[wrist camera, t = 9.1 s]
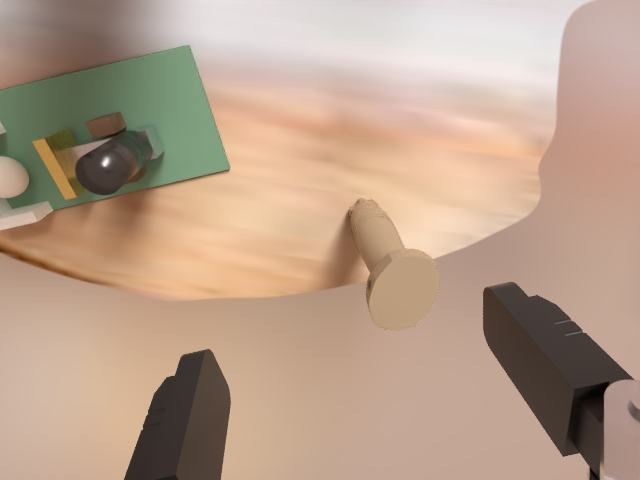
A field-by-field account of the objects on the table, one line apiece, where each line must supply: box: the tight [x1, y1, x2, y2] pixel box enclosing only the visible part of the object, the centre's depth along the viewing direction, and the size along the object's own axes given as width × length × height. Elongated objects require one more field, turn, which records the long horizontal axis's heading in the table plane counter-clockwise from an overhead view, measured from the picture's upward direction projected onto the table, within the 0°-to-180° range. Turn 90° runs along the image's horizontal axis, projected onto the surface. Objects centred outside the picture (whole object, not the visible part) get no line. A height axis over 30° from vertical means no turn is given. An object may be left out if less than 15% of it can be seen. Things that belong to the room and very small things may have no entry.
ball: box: [0, 156, 29, 198], centre depth 33 cm, size 4×4×4 cm
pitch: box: [0, 45, 230, 210], centre depth 34 cm, size 11×22×1 cm, turn 102°
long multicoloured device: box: [32, 125, 164, 200], centre depth 30 cm, size 8×5×9 cm, turn 102°
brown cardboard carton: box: [85, 112, 147, 184], centre depth 33 cm, size 6×2×3 cm, turn 12°
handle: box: [349, 198, 440, 330], centre depth 34 cm, size 5×6×15 cm
